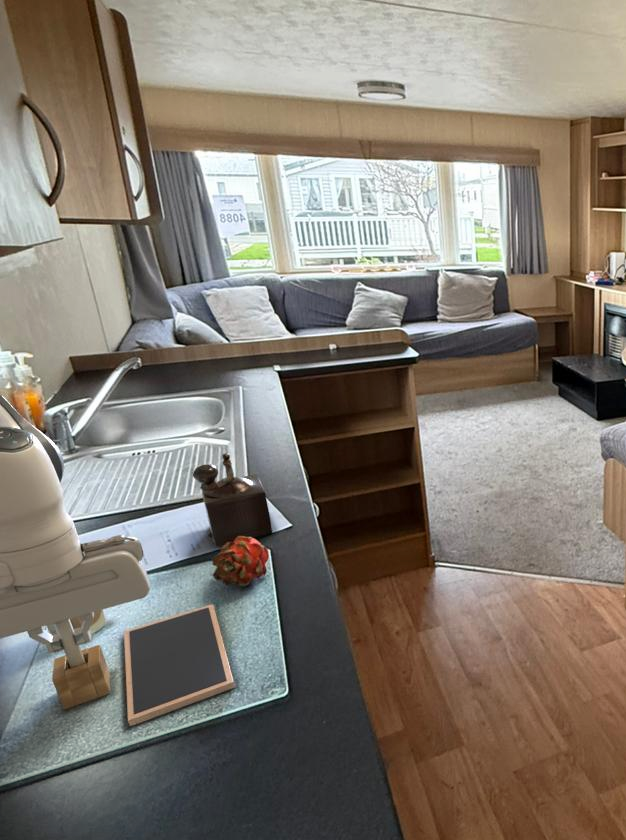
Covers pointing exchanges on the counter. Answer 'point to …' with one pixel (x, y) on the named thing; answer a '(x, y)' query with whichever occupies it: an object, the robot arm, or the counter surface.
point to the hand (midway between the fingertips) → (70, 645)
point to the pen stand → (81, 678)
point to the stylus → (69, 643)
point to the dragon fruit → (240, 561)
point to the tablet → (174, 663)
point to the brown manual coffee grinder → (233, 504)
